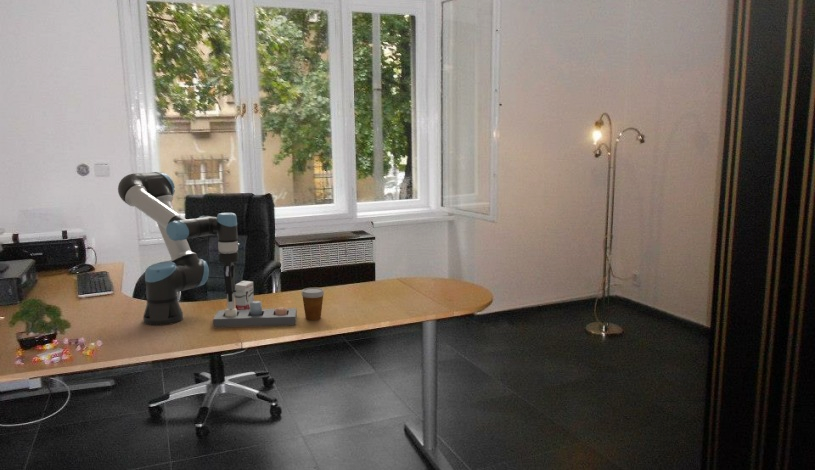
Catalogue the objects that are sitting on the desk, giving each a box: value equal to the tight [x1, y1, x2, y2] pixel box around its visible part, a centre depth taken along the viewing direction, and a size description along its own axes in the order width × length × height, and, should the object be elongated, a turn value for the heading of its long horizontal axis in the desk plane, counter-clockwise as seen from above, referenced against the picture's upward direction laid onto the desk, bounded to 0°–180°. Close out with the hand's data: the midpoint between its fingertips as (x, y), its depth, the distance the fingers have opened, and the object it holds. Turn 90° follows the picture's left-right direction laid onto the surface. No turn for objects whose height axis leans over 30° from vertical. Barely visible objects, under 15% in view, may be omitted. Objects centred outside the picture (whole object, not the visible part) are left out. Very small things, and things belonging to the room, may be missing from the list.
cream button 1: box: [224, 307, 237, 317], centre depth 241 cm, size 5×5×5 cm
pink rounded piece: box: [274, 306, 287, 315], centre depth 243 cm, size 5×5×5 cm
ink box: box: [234, 280, 255, 310], centre depth 259 cm, size 9×5×12 cm, turn 168°
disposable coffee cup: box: [301, 287, 325, 321], centre depth 248 cm, size 10×10×12 cm
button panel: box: [212, 307, 298, 329], centre depth 242 cm, size 32×12×4 cm, turn 98°
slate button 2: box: [249, 300, 263, 316], centre depth 242 cm, size 5×5×5 cm
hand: (231, 308), depth 240 cm, fingers closed
